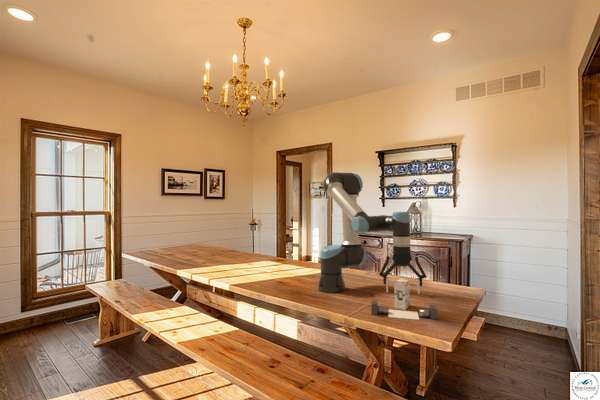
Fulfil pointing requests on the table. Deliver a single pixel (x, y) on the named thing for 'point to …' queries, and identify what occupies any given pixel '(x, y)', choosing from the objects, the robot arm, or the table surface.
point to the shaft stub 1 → (378, 308)
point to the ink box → (402, 294)
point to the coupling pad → (403, 314)
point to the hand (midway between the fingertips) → (402, 292)
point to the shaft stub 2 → (429, 312)
